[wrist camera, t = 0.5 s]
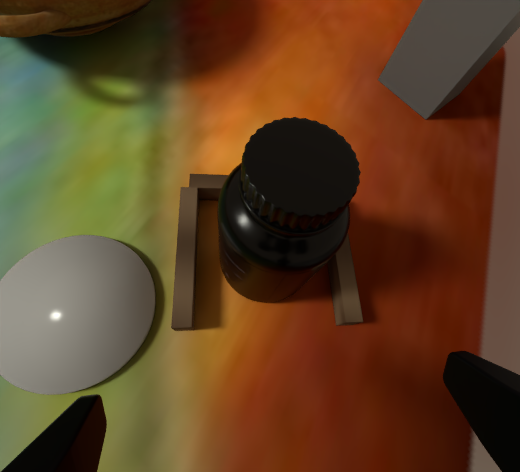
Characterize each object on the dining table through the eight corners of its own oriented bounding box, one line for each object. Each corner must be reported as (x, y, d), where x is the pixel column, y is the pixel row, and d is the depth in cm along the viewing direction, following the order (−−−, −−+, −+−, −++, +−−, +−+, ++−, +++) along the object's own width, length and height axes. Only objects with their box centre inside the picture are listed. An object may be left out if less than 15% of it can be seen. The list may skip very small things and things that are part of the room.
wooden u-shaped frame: (352, 324, 21) (363, 321, 20) (175, 330, 20) (171, 327, 18) (331, 190, 26) (338, 179, 24) (184, 186, 24) (181, 173, 22)
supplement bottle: (283, 207, 25) (336, 83, 14) (323, 282, 22) (423, 207, 12) (204, 235, 23) (191, 118, 12) (239, 320, 21) (263, 273, 10)
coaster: (187, 301, 21) (186, 299, 20) (58, 434, 17) (53, 436, 16) (90, 212, 22) (88, 209, 22) (-47, 315, 19) (-53, 314, 18)
